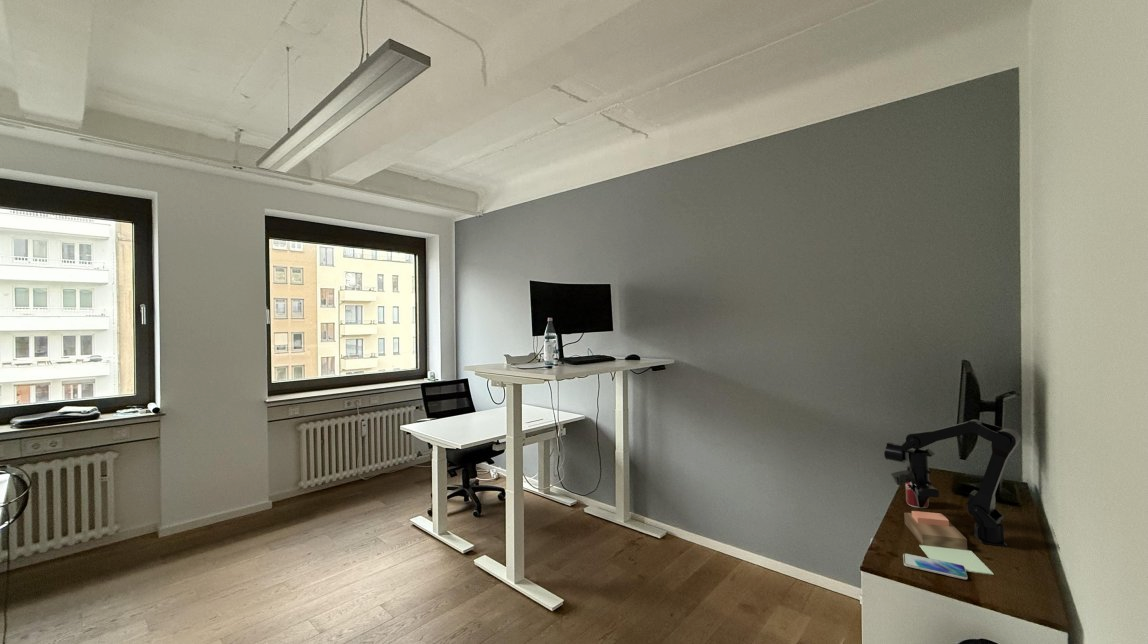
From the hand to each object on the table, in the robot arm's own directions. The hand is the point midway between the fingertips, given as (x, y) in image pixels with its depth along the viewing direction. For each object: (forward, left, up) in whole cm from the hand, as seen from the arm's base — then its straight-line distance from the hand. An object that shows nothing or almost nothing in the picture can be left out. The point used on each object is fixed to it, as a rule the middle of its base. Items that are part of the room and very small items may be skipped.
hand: (920, 507), depth 167 cm
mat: (0, +28, -6) cm, 28 cm away
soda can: (-4, -17, -6) cm, 18 cm away
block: (0, +9, -2) cm, 9 cm away
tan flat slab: (0, +12, -6) cm, 13 cm away
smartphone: (+8, +36, -5) cm, 37 cm away
